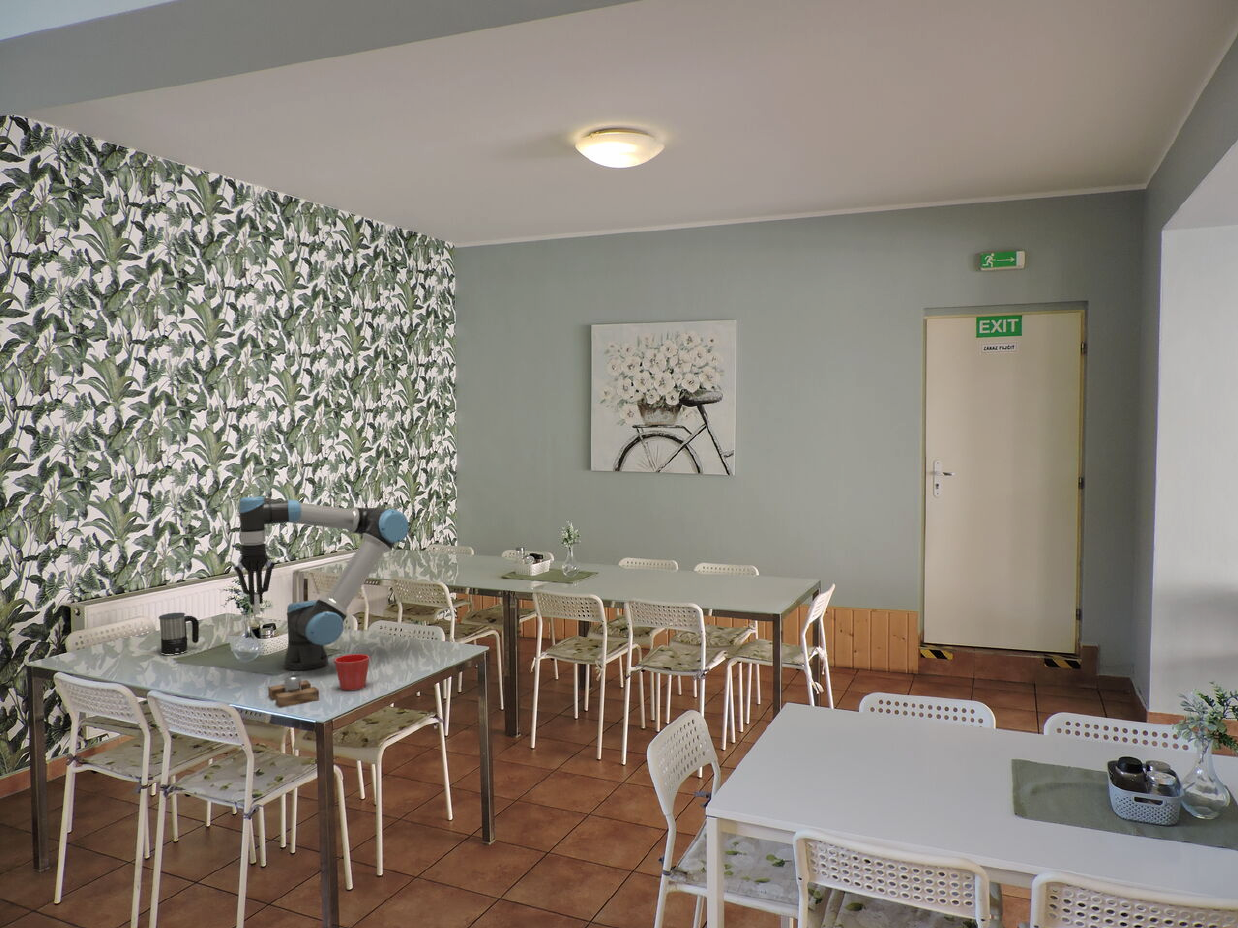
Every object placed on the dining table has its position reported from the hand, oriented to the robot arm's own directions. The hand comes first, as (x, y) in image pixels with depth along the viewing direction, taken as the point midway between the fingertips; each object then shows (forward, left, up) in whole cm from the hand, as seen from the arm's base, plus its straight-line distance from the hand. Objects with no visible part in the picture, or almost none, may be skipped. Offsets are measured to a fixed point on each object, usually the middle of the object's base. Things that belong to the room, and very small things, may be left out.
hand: (256, 613), depth 295 cm
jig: (-6, +21, -24) cm, 33 cm away
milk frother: (+16, -70, -25) cm, 76 cm away
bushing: (-5, +22, -24) cm, 33 cm away
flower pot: (-25, +21, -25) cm, 41 cm away
